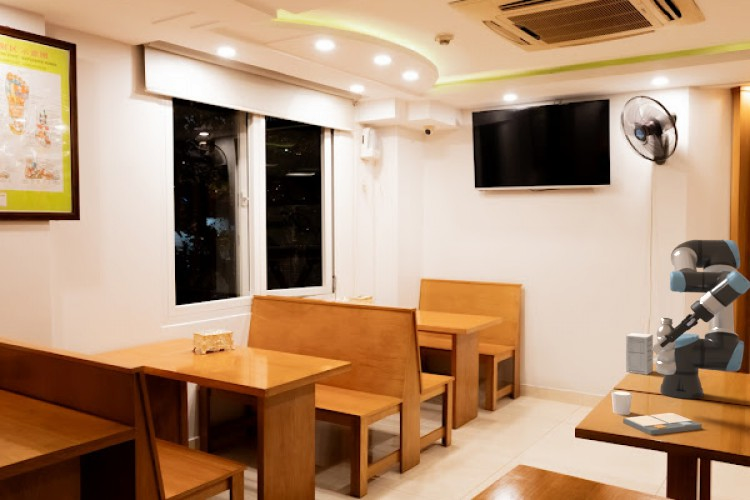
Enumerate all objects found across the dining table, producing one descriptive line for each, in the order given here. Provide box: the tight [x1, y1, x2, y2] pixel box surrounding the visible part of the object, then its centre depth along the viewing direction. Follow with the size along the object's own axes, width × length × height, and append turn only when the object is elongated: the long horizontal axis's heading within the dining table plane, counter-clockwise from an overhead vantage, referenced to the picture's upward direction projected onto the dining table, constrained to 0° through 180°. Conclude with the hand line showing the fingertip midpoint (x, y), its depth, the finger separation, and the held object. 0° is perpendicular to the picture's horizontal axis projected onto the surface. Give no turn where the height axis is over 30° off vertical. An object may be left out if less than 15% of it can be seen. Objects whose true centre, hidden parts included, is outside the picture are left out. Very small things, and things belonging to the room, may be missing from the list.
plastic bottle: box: [655, 317, 676, 376], centre depth 225 cm, size 6×7×20 cm
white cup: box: [611, 390, 633, 416], centre depth 224 cm, size 7×7×7 cm
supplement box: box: [625, 332, 654, 375], centre depth 286 cm, size 10×9×17 cm
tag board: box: [622, 412, 703, 436], centre depth 209 cm, size 20×13×2 cm, turn 107°
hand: (655, 350), depth 227 cm, fingers closed on plastic bottle, 6 cm apart
